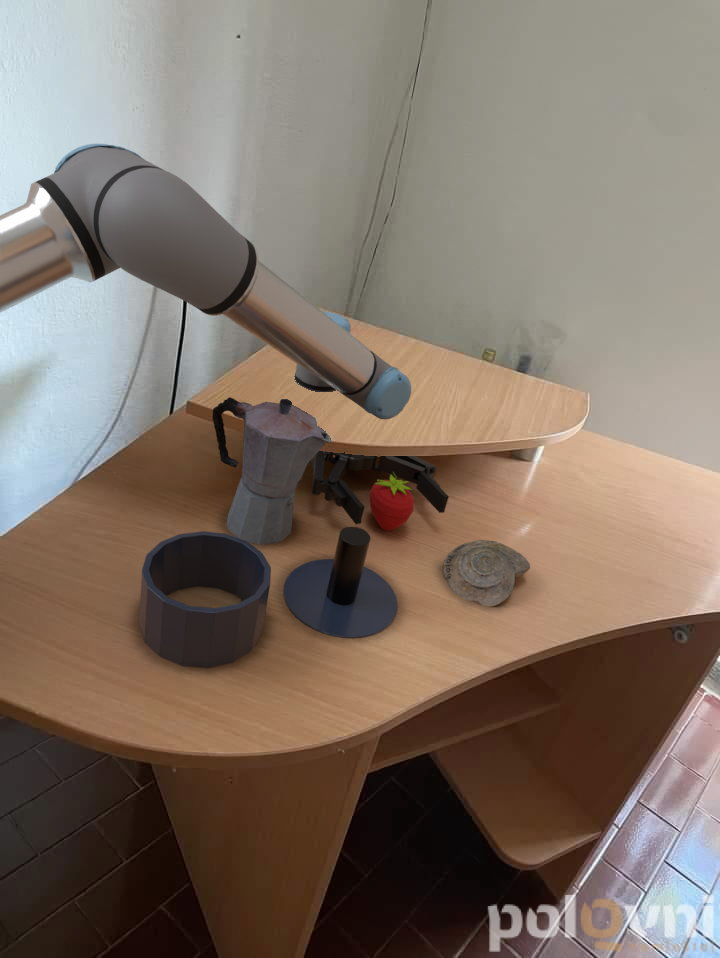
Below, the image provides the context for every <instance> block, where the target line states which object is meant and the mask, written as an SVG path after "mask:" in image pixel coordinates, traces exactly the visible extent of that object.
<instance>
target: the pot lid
mask: <svg viewBox="0 0 720 958" xmlns="http://www.w3.org/2000/svg"><path fill="white" fill-rule="evenodd" d="M370 543H371V535H370V533H369V532H367V530H365V529H363V528H361V527H358V526H345V527H343V528H342V529H341V530H340V531H339V535H338V539H337V544H336V547H335V548H336V549H335V553H334V557H333V558H322V559H316V560H311V561H308V562H304V563H303V564H300V565H299V566H297V567H295V568H294V569H293V570H291V572H290V573H289V575H287V577H286V579H285V581H284V584H283V589H282V592H283V593H282V594H283V599H284V603H285V604H286V606H287V608H288V610H289V611H290V613H291V614H292V615H293V616H294V617H295V618H296V619H297V620H298V621H300V622H301V623H302V624H303V625H305V626H306V627H308V628H310V629H312V630H313V631H316V632H318V633H321V634H323V635H326V636H330V637H335V638H341V639H362V638H367V637H371V636H374V635H377V634H379V633H381V632H382V631H384V630H386V629H387V628H388V627H389V626H391V624H392V623H393V622H394V620H395V618H396V616H397V612H398V606H399V605H398V599H397V596H396V593H395V591H394V589H393V587H392V586H391V585H390V584H389V583H388V581H387V580H386V579H385V578H383V576H381V575H380V574H379V573H378V572H375V571H374V570H372V569H370V568H368V567H366V566H365V563H366V560H367V559H366V558H367V555H368V551H369V547H370Z"/></svg>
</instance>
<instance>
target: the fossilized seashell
mask: <svg viewBox="0 0 720 958" xmlns="http://www.w3.org/2000/svg"><path fill="white" fill-rule="evenodd" d="M530 569H531V564H530V562H529V560H528V559H527V557H525V556H524V555H523V554H521V553H520V552H518V551H517V550H515V549H514V548H512V547H510V546H508V545H506V544H503V543H501V542H497V541H495V540H487V539H477V540H472V541H467V542H465V543H462V544H460V545H458V546H456V547H455V548H454V549H452V550H451V551H450V552H448V554H447V556H446V557H445V559H444V562H443V564H442V575H443V579H444V580H445V582H446V583H447V585H448V587H449V589H450V590H451V591H452V592H453V593H455V595H457V596H459V597H461V598H462V599H464V600H466V601H468V602H470V603H471V602H472V603H474V604H477V605H479V606H481V607H486V608H491V607H495V606H499V605H500V604H502V603H503V602H504V601H506V600H507V599H508V598H509V597H510V595H511V594H512V592H513V590H514V587H515V582H516V579H518V578H520V577H522V576H524V575H525V574H526V573H527V572H528V571H529V570H530Z"/></svg>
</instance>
